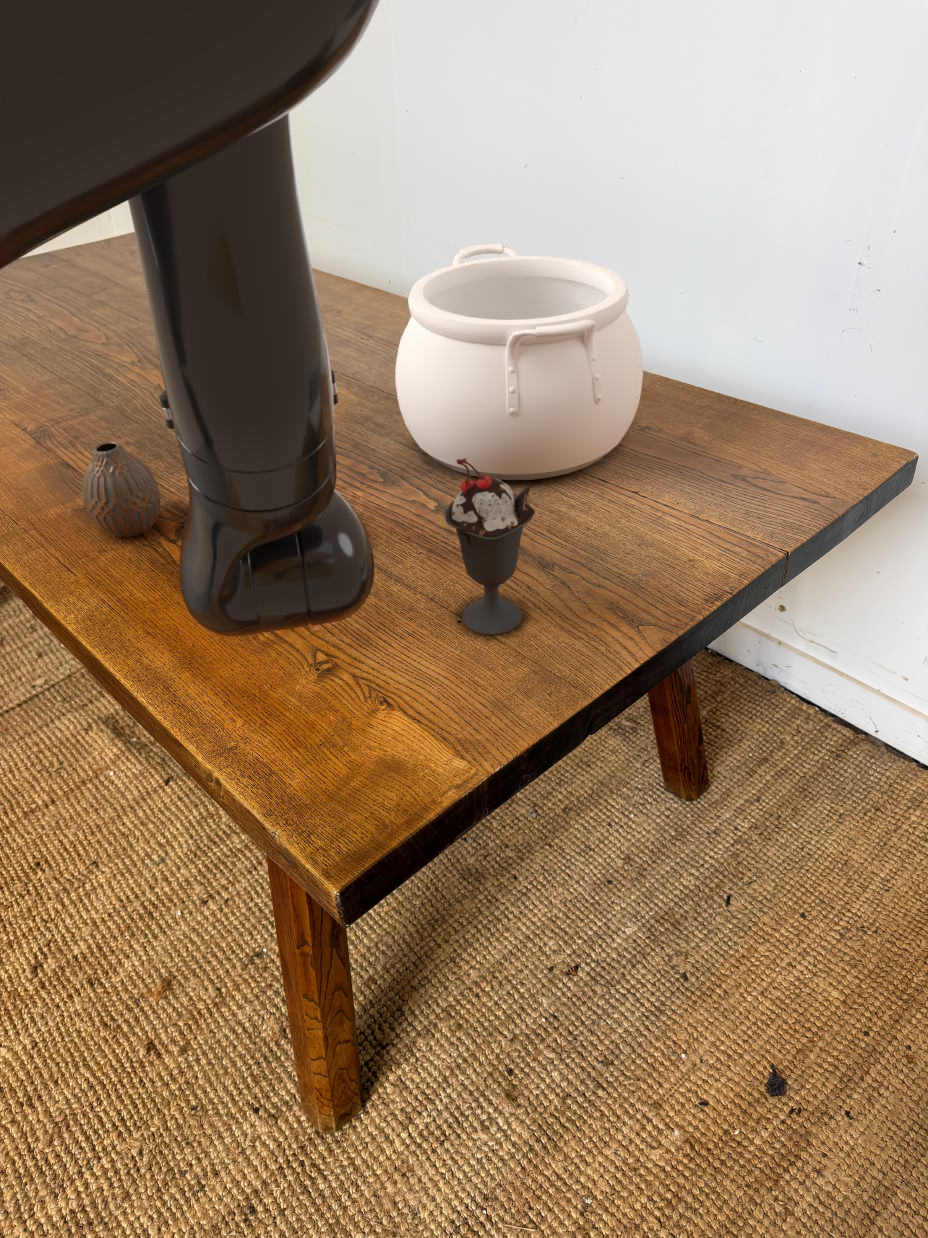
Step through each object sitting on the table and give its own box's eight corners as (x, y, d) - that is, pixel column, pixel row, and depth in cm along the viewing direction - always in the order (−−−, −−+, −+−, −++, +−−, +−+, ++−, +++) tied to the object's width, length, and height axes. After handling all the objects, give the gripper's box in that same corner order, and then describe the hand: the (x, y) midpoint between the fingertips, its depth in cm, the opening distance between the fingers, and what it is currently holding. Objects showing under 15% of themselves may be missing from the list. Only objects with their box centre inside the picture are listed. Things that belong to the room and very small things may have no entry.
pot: (380, 402, 108) (364, 256, 98) (583, 373, 113) (589, 230, 102) (432, 520, 86) (419, 347, 75) (683, 477, 90) (704, 308, 80)
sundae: (435, 620, 73) (422, 458, 64) (488, 584, 77) (483, 425, 68) (494, 653, 69) (490, 486, 60) (548, 613, 73) (551, 450, 64)
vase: (84, 527, 88) (55, 447, 82) (147, 501, 91) (124, 423, 86) (114, 554, 83) (86, 471, 78) (180, 525, 87) (157, 445, 82)
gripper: (350, 375, 61) (320, 300, 74) (139, 406, 58) (147, 323, 72) (363, 472, 65) (332, 385, 79) (168, 505, 63) (170, 409, 76)
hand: (244, 356), depth 75 cm, fingers closed on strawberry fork, 3 cm apart
